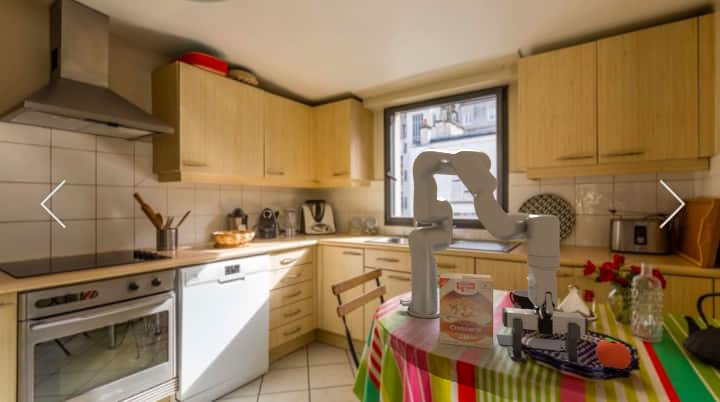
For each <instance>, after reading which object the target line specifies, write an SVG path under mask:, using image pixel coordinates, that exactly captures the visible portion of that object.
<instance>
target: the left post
mask: <svg viewBox="0 0 720 402" xmlns="http://www.w3.org/2000/svg"><path fill="white" fill-rule="evenodd" d="M522 335H524V329H523V321H522V320H514V328H511V336H512V347H509V346H506V348H507V352H508V354H509V358H510V360H512V361H519V362H520V361H521V362H527V357H526V355H525V353H524V351H521V337H522Z"/></svg>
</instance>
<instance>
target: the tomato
mask: <svg viewBox="0 0 720 402" xmlns="http://www.w3.org/2000/svg"><path fill="white" fill-rule="evenodd" d="M595 352H596V353H595V354H596V358H597V359H598V361H599V362H600V363H601V364H602V365H603V366H604V367H605V368H607V367H614V368H619V369H624V370H626V369H628V367H629V366H630V364H631V362H632V357H631V353H630V351H629V349H628V348H627V347H626V345H624V344H623V343H622V342H619V340H614V339H613V338H609V337H602V338H600V339H599V340H598V344H597V346H596V347H595ZM625 368H626V369H625Z"/></svg>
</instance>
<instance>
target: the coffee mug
mask: <svg viewBox="0 0 720 402" xmlns="http://www.w3.org/2000/svg"><path fill="white" fill-rule="evenodd" d="M509 299H510V302H511V303H512V305H513V308H517V309H530V310H534V305H533V303H532V302H531V301H530V299H529V298H528V289H515V290H512V291H511V292H509Z"/></svg>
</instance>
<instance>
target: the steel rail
mask: <svg viewBox="0 0 720 402" xmlns="http://www.w3.org/2000/svg"><path fill="white" fill-rule="evenodd" d="M501 309H502V311H501V312H502V313H501V314H502V315H501V318H502V319H501V320H502V321H501V322H502V324H503V326H504V327H505V328H509V329H512V328H514V320H522V321H523V330H532V331H538V318H540V312H539V310H530V309H517V308H514V307H502V308H501ZM543 312H544V310H543ZM570 325H579V326H580V335H583V336H584V335H589V318H587V317H586V316H585V315H584V314H583V313H579V312H571V311H570V312H567V311H554V310H553V333H555V332H556V333H562V334H563V333H564V334H565V333H570Z"/></svg>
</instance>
